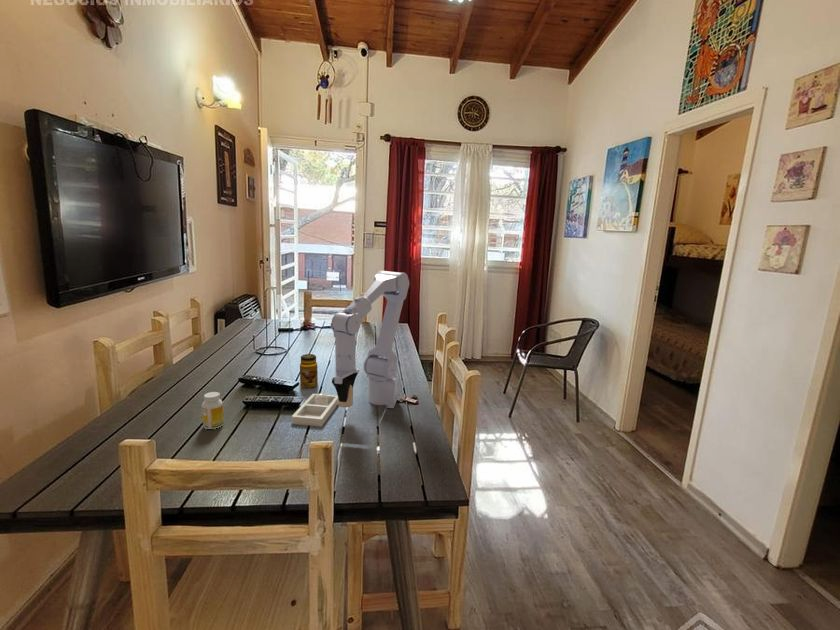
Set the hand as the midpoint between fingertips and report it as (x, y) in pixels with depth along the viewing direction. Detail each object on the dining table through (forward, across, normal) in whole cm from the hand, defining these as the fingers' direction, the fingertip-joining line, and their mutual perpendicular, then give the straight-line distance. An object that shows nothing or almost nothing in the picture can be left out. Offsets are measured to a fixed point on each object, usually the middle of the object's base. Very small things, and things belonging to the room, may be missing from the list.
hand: (345, 398), depth 122 cm
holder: (+8, +4, +10) cm, 13 cm away
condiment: (+8, +24, +21) cm, 33 cm away
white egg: (+7, +8, +10) cm, 14 cm away
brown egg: (+2, 0, 0) cm, 2 cm away
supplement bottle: (+8, -9, +36) cm, 38 cm away
